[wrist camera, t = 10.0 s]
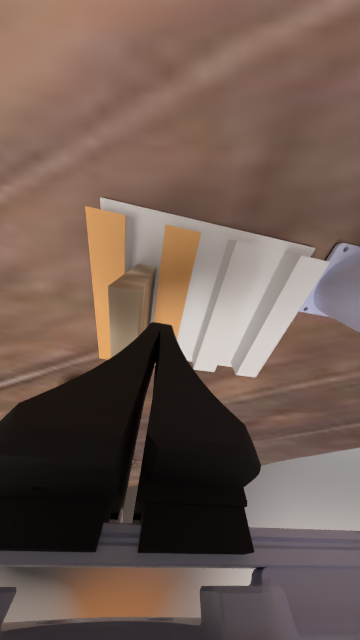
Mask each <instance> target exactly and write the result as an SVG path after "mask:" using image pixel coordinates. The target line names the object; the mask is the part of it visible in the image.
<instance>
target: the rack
mask: <svg viewBox="0 0 360 640" xmlns="http://www.w3.org/2000/svg"><path fill="white" fill-rule="evenodd" d="M100 203H101V210H100V209H96V208H92V207H87V206H85V209H86V220H87V230H88V241H89V251H90V262H91V273H92V283H93V294H94V305H95V315H96V326H97V336H98V347H99V358H100V359H108V360H109V359H110V358H111V347H110V324H109V301H108V286H109V285H110V284H111V283H113V282H114V281H115V280H117V279H118V278H119V277H121V276H122V275H124V274H125V273H126V272H128V271H129V270H130V269H132V268H133V267H134V266H136V265H137V264H141V265H147V266H152V267H157V268H156V277H155V286H154V295H153V304H152V312H151V321H150V323H151V322H156V323H162V324H169V325H172V327H173V331H174V334H175V337H176V339H177V342H178V344H179V346H180V348H181V350H182V352H183V354H184V356H185V357H186V359H187V361H192V362H193V369H194V370H202V371H209V372H215V369H216V367H217V365H221V366H229V367H233V369H234V372H235V374H236V375H240V376H248V377H256V376H257V374H258V373H259V371H260V370H261V368H262V367H263V365H264V364H265V362H266V361H267V359H268V357H269V356H270V354H271V353H272V351H273V350H274V348H275V347H276V345H277V344H278V342H279V340H280V339H281V337H282V336H283V334H284V333H285V331H286V330H287V328H288V327H289V325H290V324H291V322H292V320H293V319H294V317H295V316H296V314H297V313H298V311H299V310H300V308H301V307H302V305H303V303H304V302H305V300H306V299H307V297H308V296H309V294H310V293H311V291H312V290H313V288H314V287H315V285H316V283H317V282H318V280H319V279H320V277H321V276H322V274H323V273H324V271H325V270H326V268H327V267H328V265H329V263H330V262H328V261H324V260H319V259H315V258H310V257H311V255H312V254H313V252H314V250H315V249H316V248H313V247H309V246H304V245H300V244H296V243H292V242H287V241H283V240H279V239H275V238H271V237H266V236H262V235H258V234H254V233H249V232H245V231H241V230H237V229H232V228H228V227H224V226H220V225H215V224H211V223H207V222H203V221H199V220H194V219H190V218H186V217H182V216H177V215H173V214H169V213H165V212H160V211H156V210H152V209H148V208H143V207H139V206H135V205H131V204H126V203H122V202H118V201H114V200H110V199H105V198H101V197H100ZM155 363H156V362H155Z"/></svg>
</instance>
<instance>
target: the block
mask: <svg viewBox="0 0 360 640" xmlns="http://www.w3.org/2000/svg"><path fill="white" fill-rule="evenodd" d="M156 268H157V267H152V266H147V265H141V264H137V265H136V266H134V267H133V268H132V269H130V270H129V271H128V272H126V273H125V274H124V275H122V276H121V277H119V278H118V279H117V280H115V281H114V282H113V283H111V284H110V285H109V286H108V301H109V324H110V347H111V358H112V357H113V356H114V355H116V354H117V353H119V352H120V351H121V350H123V349H124V348H125V347H126V346H128V345H129V344H130V343H131V342H132V341H134V340H135V339H136V338H137V337H138V336H139V335H140V334H141V333H142V332H143V331H144V330H145V329H146V328H147V327H148V325H149V324H150V321H151V312H152V304H153V295H154V286H155V277H156Z"/></svg>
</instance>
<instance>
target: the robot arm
mask: <svg viewBox="0 0 360 640" xmlns="http://www.w3.org/2000/svg"><path fill="white" fill-rule="evenodd" d="M344 248H345V250H344V251H343V249H344ZM326 261H328V262H330V263H329V265H328V267H327V268H326V270H325V271H324V273H323V274H322V276H321V277H320V279H319V280H318V282H317V283H316V285H315V287H314V288H313V290H312V291H311V293H310V294H309V296H308V297H307V299H306V300H305V302H304V303H303V305H302V307H301V308H300V310H299V311H300V312H305V313H310V314H315V315H321V316H326V317H332V318H333V319H335V320H337V321H339V322H341V323H343V324H344V325H346V326H348V327H350V328H352V329H354V330H355V331H357V332H359V333H360V247H359V246H355V245H351V244H347V243H339V244H337V245H336V246H335V247H334V249H333V250H332V252H331V254H330V255H329V257H328V258H327V260H326ZM305 307H306V308H305ZM304 308H305V309H304ZM155 362H156V363H155ZM154 366H155V375H154V388H153V399H152V405H151V411H150V417H149V423H148V429H147V435H146V441H145V447H144V454H143V460H142V466H141V472H140V478H139V485H138V491H137V497H136V503H135V510H134V516H133V522H132V523H109V520H118V517H119V513H120V511H121V510H122V508H123V507H124V502H125V497H126V491H127V487H128V481H129V476H130V471H131V466H132V461H133V456H134V450H135V445H136V440H137V435H138V430H139V425H140V420H141V415H142V410H143V405H144V401H145V397H146V393H147V389H148V386H149V383H150V379H151V376H152V372H153V369H154ZM260 469H261V464H260V461H259V459H258V456H257V453H256V450H255V447H254V445H253V442H252V440H251V437H250V435H249V433H248V431H247V428H246V426H245V425H244V424H243V423H242V422H241V421H240V420H239V419H238V418H237V417H236V416H235V415H234V414H232V413H231V412H230V411H229V410H228V409H227V408H226V407H225V406H224V405H223V404H222V403H221V402H220V401H219V400H218V399H217V398H216V397H215V396H214V395H213V394H212V393H211V391H210V390H209V389H208V388H207V387H206V385H205V384H204V383H203V382H202V381H201V379H200V378H199V377H198V376H197V374H196V373H195V371H194V370H193V369H192V367H191V366H190V364H189V362H188V361H187V359H186V357H185V356H184V354H183V352H182V350H181V348H180V346H179V344H178V342H177V339H176V337H175V334H174V331H173V327H172V325H169V324H162V323H156V322H151V323H150V324H149V325H148V327H147V328H146V329H145V330H144V331H143V332H142V333H141V334H140V335H139V336H138V337H137V338H136V339H135V340H134V341H132V342H131V343H130V344H129V345H128V346H126V347H125V348H124V349H123V350H121V351H120V352H119V353H117V354H116V355H114V356H113V357H112V358H110V359H109V360H107V361H105V362H104V363H102V364H100V365H99V366H97V367H95V368H94V369H92V370H90V371H88V372H86V373H85V374H83V375H81V376H79V377H77V378H75V379H73V380H71V381H69V382H67V383H65V384H62V385H60V386H58V387H56V388H53V389H51V390H49V391H46V392H44V393H42V394H39V395H37V396H35V397H32V398H30V399H28V400H25V401H23V402H20V403H19V404H18V405H16V406H15V407H14V408H13V409H12V410H11V411H10V412H9V413H8V414H7V415H6V416H5V417H4V418H3V419H2V420H1V421H0V567H132V568H134V567H136V568H139V567H143V568H145V567H146V568H256V569H254V571H253V573H252V580H251V584H250V585H249V586H202V587H201V589H200V603H201V618H177V617H176V618H175V617H102V618H77V619H60V620H43V621H26V622H10V623H3V620H4V618H5V616H6V614H7V611H8V609H9V607H10V605H11V603H12V601H13V598H14V596H15V594H16V587H0V640H360V531H343V530H312V529H283V528H281V529H280V528H254V527H253V528H251V527H248V522H247V518H246V514H245V509H244V507H246V506H247V500H246V496H245V492H244V488H243V487H245V486H246V485H247V484H248V483H250V482H251V481H252V480H253V479H255V478H256V476H257V475H258V474H259V472H260Z"/></svg>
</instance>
